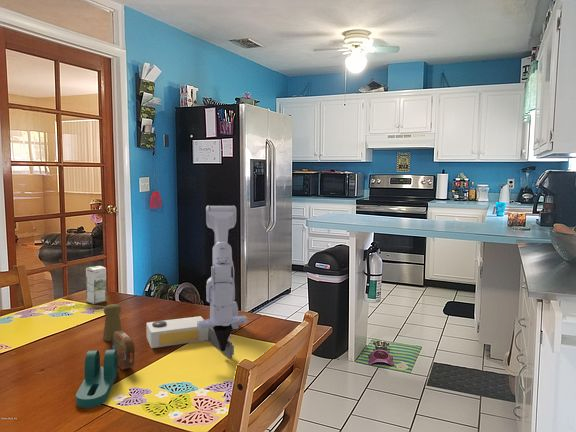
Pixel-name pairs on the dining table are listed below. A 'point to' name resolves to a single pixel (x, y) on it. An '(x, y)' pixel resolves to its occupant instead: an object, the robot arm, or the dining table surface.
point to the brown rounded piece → (123, 349)
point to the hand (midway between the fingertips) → (222, 349)
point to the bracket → (97, 379)
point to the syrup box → (96, 284)
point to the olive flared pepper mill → (111, 320)
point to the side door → (213, 339)
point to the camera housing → (175, 332)
